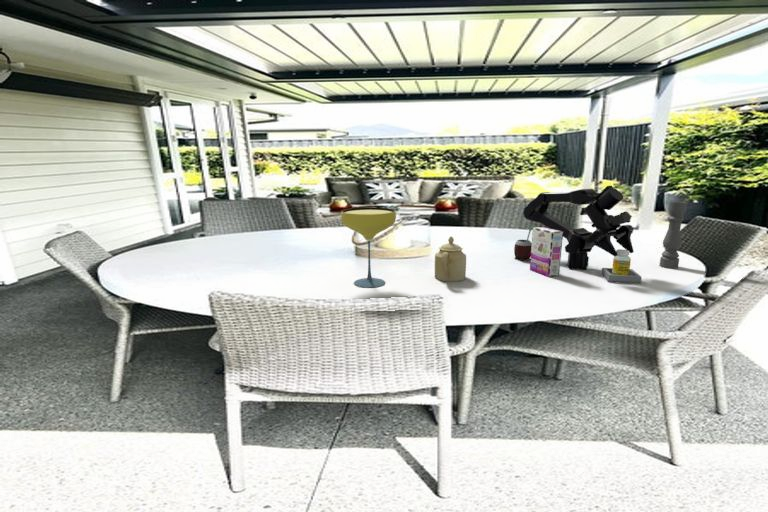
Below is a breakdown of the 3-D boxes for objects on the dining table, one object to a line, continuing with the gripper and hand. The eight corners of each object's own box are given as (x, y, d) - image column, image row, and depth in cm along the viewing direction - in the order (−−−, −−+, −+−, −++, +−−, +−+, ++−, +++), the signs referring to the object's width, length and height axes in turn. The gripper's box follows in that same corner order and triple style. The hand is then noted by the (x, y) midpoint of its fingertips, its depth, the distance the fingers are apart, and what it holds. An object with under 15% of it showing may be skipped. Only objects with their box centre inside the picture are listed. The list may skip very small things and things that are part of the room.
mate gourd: (513, 260, 181) (515, 224, 178) (514, 256, 188) (516, 221, 185) (532, 262, 179) (535, 225, 175) (532, 257, 186) (535, 222, 183)
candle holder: (681, 268, 168) (692, 203, 162) (665, 268, 168) (675, 203, 162) (671, 264, 174) (681, 201, 168) (655, 264, 174) (664, 201, 168)
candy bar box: (560, 276, 159) (564, 231, 155) (548, 277, 157) (552, 232, 154) (539, 268, 169) (543, 226, 165) (528, 269, 168) (532, 227, 164)
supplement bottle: (623, 274, 158) (626, 248, 155) (631, 279, 152) (635, 252, 150) (608, 275, 158) (611, 248, 155) (616, 279, 152) (619, 252, 150)
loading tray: (608, 282, 151) (609, 275, 151) (601, 274, 161) (602, 267, 160) (640, 283, 149) (641, 276, 149) (631, 275, 159) (632, 269, 158)
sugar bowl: (472, 284, 150) (474, 241, 146) (440, 285, 148) (441, 242, 145) (460, 272, 164) (462, 233, 160) (431, 273, 163) (432, 233, 159)
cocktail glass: (356, 273, 163) (355, 206, 157) (403, 278, 157) (403, 208, 151) (333, 287, 147) (331, 213, 141) (384, 293, 140) (384, 215, 134)
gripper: (599, 205, 148) (626, 244, 142) (632, 202, 157) (659, 238, 151) (576, 225, 157) (601, 262, 150) (609, 220, 166) (633, 255, 159)
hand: (624, 254), depth 152 cm, fingers open, 9 cm apart
